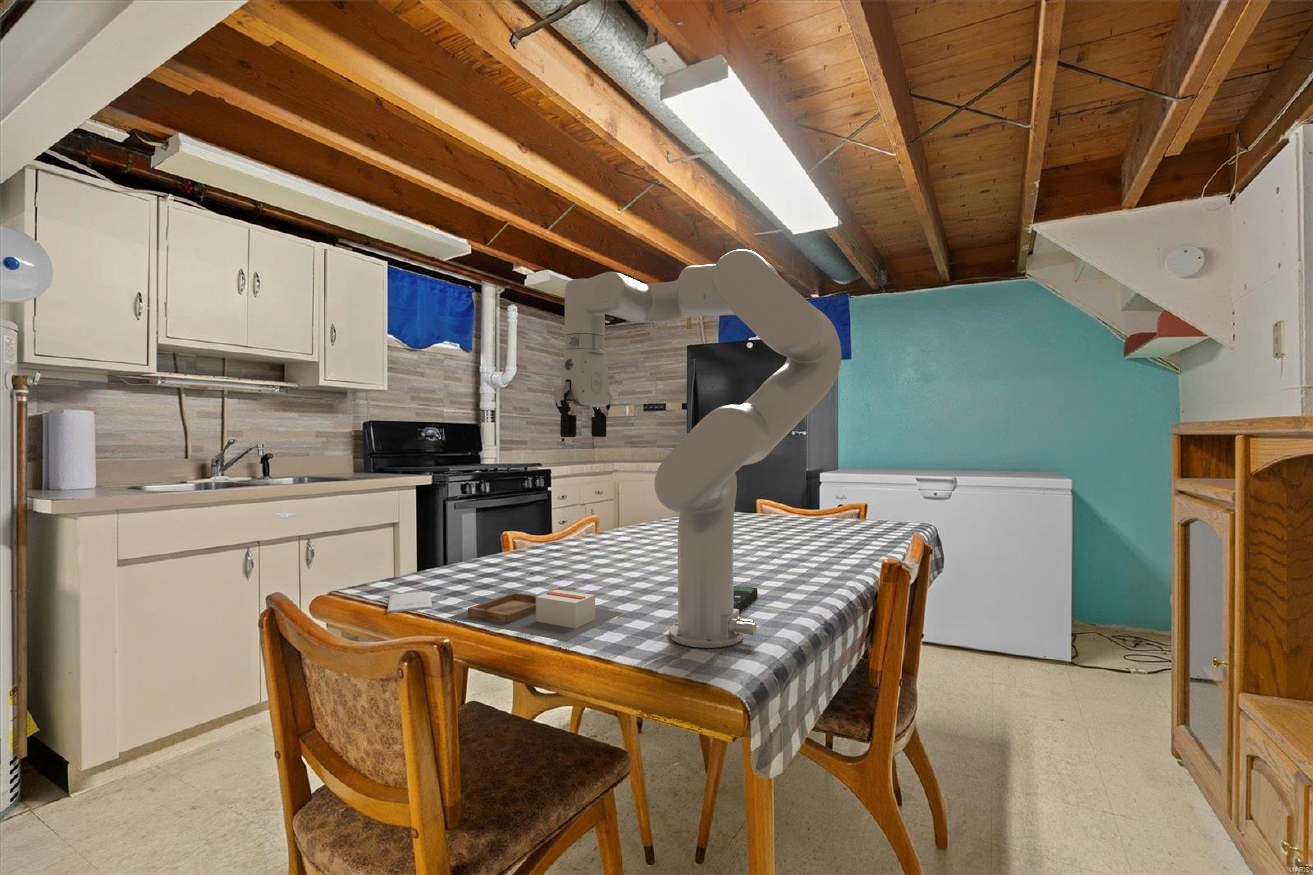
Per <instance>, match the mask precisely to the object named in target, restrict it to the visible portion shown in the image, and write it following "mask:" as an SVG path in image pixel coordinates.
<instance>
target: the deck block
mask: <svg viewBox="0 0 1313 875" xmlns="http://www.w3.org/2000/svg"><path fill="white" fill-rule="evenodd" d="M595 608H596V594H589V593H584V592H575V591H569V590H562V589H555V590H550V591H548V592H546V593H542V594H540V595H537V597H536V621H537V622H542V623H548V624H554V625H559V626H565V627H570V628H578V627H580V626H582V625H584V624H587V623H589V622H591V621H593V620H595Z"/></svg>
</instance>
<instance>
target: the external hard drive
mask: <svg viewBox="0 0 1313 875" xmlns="http://www.w3.org/2000/svg"><path fill="white" fill-rule="evenodd" d="M431 594H432V593H431V591H429V590H428V591H417V592H406V593H405V592H404V593H395V594H390V595H389V598H388V603H387V611H386V612H387V615H390V614H395V613H401V612H410V611H419V610H420V611H422V610H431V609H433V604H432V595H431Z"/></svg>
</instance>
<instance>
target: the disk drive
mask: <svg viewBox="0 0 1313 875" xmlns="http://www.w3.org/2000/svg"><path fill="white" fill-rule="evenodd" d="M758 593H759V592H758V588H757V587H751V586H739V585H734V609H739V615H741V613H742V612H743V611H744V610H746V609H747V608H748V607H749V606H750V605H752V604H753V603H754V602H755V601H756V600H757V599H758ZM754 600H755V601H754ZM753 601H754V602H753ZM752 602H753V603H752ZM749 604H750V605H749ZM748 605H749V606H748ZM747 606H748V607H747ZM746 607H747V608H746ZM745 608H746V609H745ZM743 609H744V610H743ZM742 610H743V611H742ZM741 611H742V612H741Z"/></svg>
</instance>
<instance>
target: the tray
mask: <svg viewBox="0 0 1313 875" xmlns="http://www.w3.org/2000/svg"><path fill="white" fill-rule="evenodd" d="M537 596H538V595H537V594H529V593H523V592H518V591H514V592H511V593H509V594H506V595H502V596H500V597H498V598H497V597H496V598H494V599H491V600H489V601H484V602H482V603H479V604H475V605H473V606H470V607H468V608H467V611H468V617H473V618H479V619H484V620H489V621H495V622H500V623H505V624H510V623H512V622H515V621H517V620H520V619H522V618H525V617H527V616H530V615H533V614H535V613H536V597H537Z"/></svg>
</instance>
